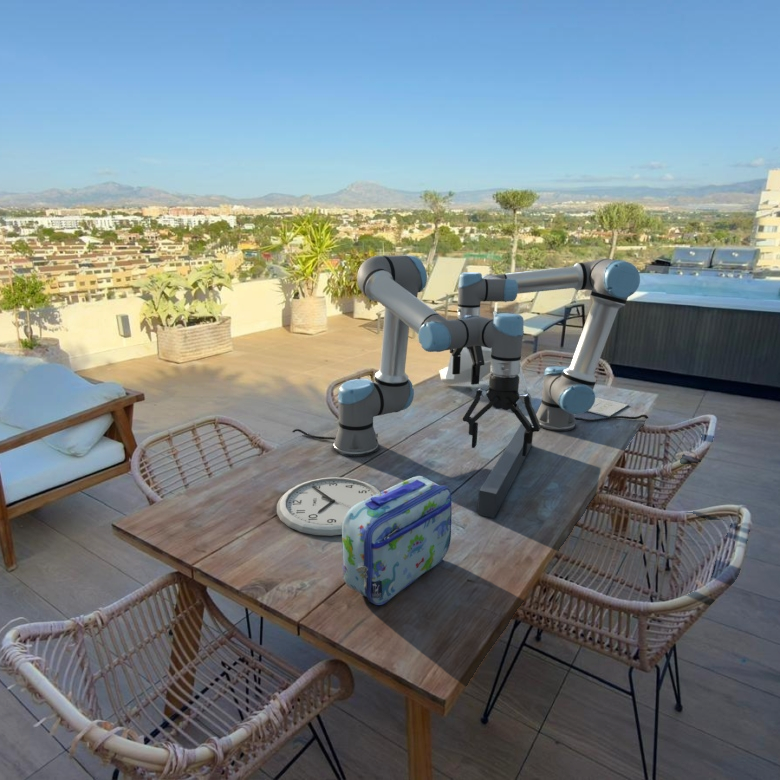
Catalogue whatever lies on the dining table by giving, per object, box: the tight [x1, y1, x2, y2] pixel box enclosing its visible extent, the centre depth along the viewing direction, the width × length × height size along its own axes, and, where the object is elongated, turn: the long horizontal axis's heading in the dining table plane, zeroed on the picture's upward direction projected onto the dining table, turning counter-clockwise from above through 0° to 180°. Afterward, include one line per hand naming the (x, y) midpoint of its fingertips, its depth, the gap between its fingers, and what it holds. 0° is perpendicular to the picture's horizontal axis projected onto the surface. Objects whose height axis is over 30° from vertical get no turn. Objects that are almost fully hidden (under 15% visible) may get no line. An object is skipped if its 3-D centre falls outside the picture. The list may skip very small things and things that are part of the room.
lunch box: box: [341, 475, 453, 606], centre depth 111 cm, size 26×11×21 cm, turn 134°
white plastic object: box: [438, 310, 530, 395], centre depth 245 cm, size 37×45×31 cm
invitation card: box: [587, 396, 629, 417], centre depth 226 cm, size 21×1×15 cm
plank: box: [477, 424, 534, 519], centre depth 161 cm, size 54×4×7 cm, turn 155°
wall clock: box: [276, 476, 382, 537], centre depth 142 cm, size 30×2×30 cm
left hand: (498, 450), depth 141 cm, fingers open, 13 cm apart
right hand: (465, 378), depth 184 cm, fingers open, 13 cm apart
